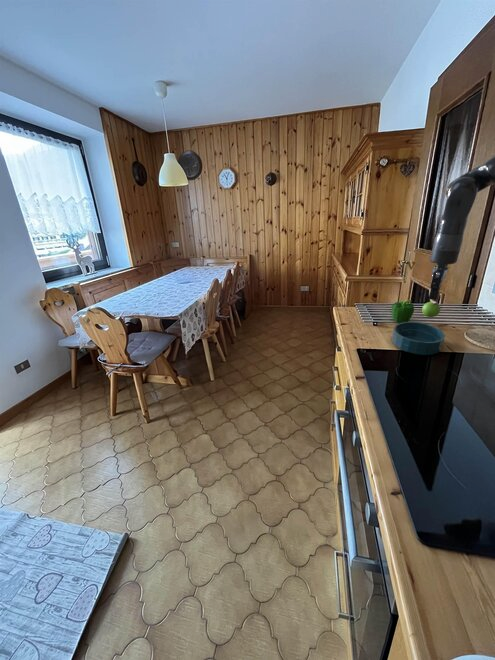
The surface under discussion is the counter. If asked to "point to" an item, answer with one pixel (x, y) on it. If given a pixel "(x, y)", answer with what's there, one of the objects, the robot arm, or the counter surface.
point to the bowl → (418, 338)
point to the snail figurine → (431, 307)
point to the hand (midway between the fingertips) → (433, 296)
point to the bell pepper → (402, 311)
